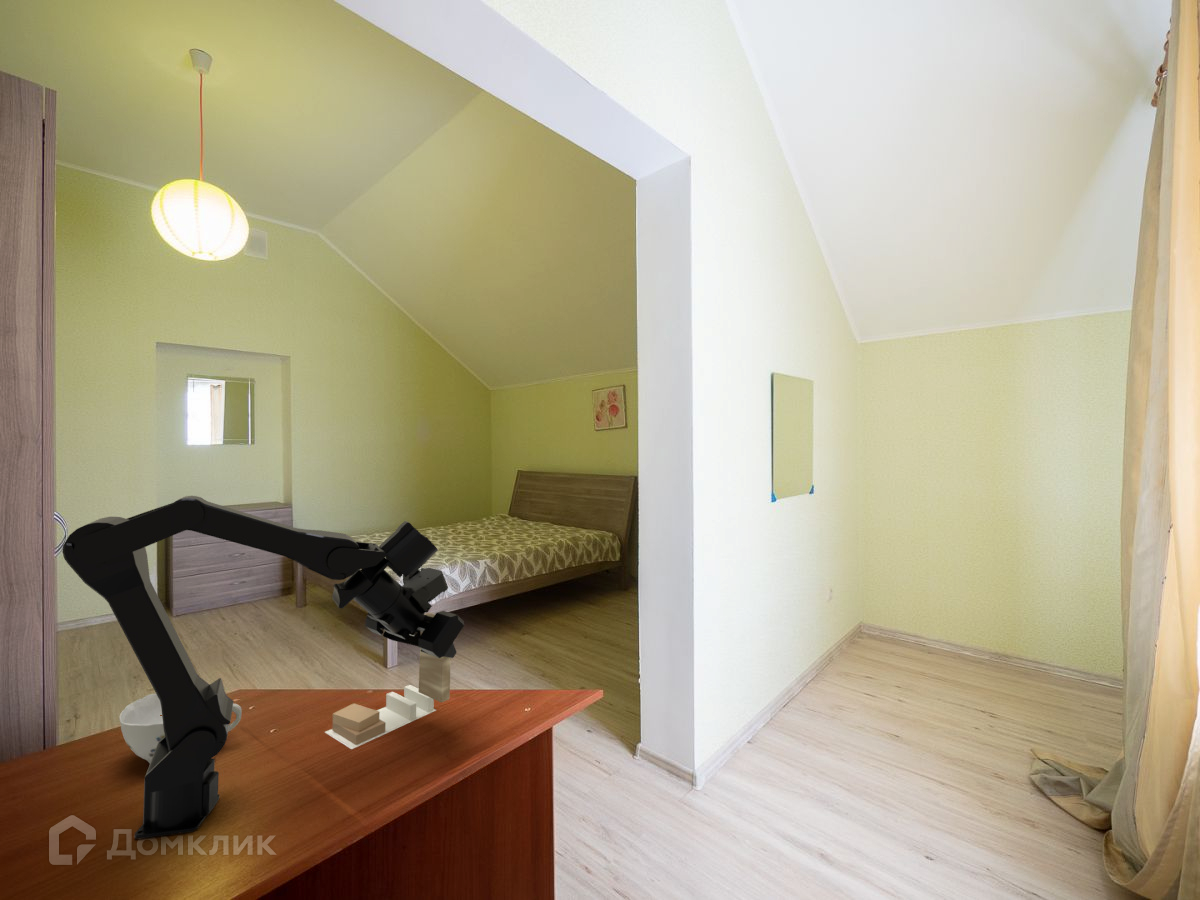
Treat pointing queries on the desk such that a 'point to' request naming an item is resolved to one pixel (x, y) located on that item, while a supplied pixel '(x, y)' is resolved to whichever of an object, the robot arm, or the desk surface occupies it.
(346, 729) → the offcut rack
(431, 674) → the grey brown wooden board
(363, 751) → the desk surface
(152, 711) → the teacup
